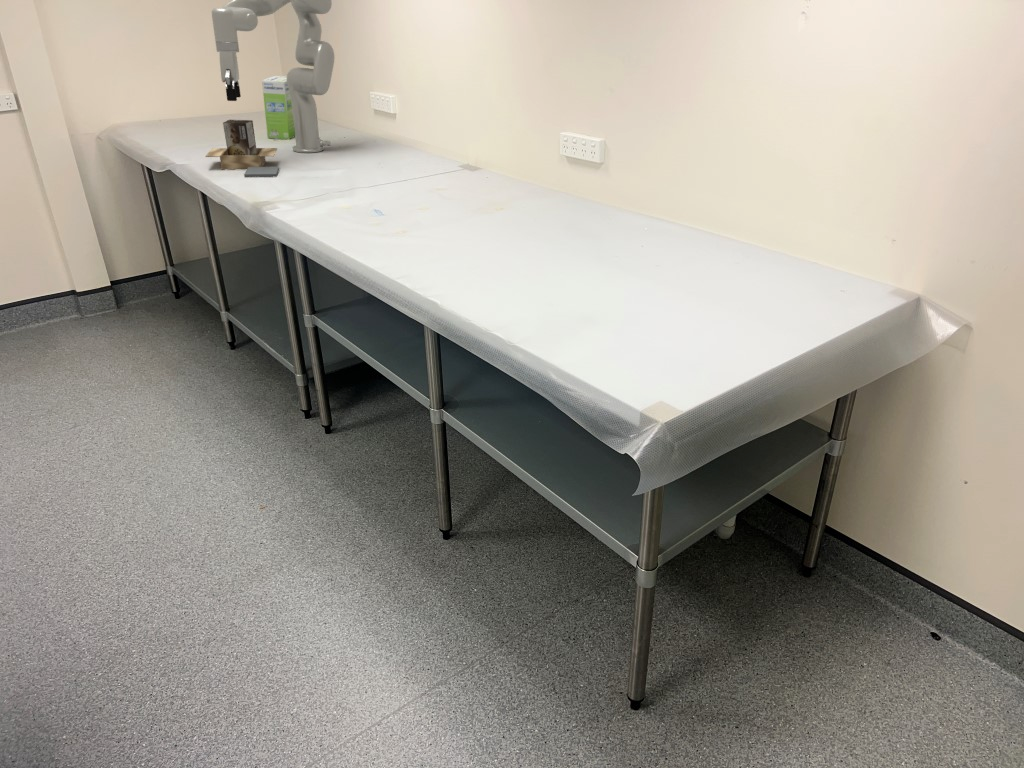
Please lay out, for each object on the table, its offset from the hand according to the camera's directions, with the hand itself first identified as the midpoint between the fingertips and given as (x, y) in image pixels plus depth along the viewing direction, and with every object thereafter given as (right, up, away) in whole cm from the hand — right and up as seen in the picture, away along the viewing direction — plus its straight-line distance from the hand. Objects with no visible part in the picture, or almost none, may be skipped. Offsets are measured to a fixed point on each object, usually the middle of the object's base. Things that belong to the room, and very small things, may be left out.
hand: (234, 99), depth 270 cm
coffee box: (-1, -21, +12) cm, 24 cm away
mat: (+10, -26, +2) cm, 28 cm away
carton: (-1, -21, +12) cm, 24 cm away
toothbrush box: (-1, +8, +65) cm, 66 cm away
